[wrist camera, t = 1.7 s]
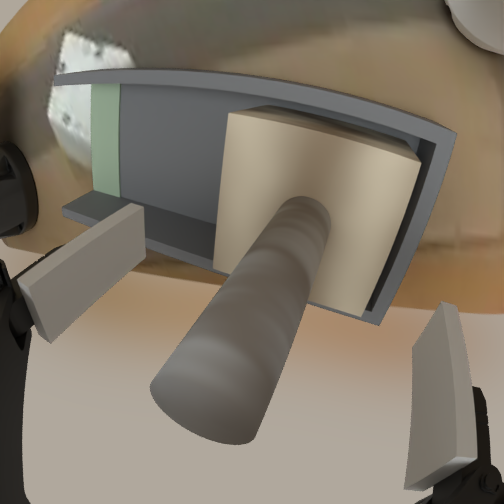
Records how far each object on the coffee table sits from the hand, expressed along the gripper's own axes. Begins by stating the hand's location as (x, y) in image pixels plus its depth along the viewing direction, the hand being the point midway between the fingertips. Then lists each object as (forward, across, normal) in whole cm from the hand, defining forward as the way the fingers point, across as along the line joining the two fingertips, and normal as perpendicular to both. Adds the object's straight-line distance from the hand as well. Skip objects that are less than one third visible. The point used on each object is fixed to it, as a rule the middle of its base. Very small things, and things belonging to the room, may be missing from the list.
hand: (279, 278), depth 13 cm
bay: (+13, -8, 0) cm, 16 cm away
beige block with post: (+12, 0, 0) cm, 12 cm away
